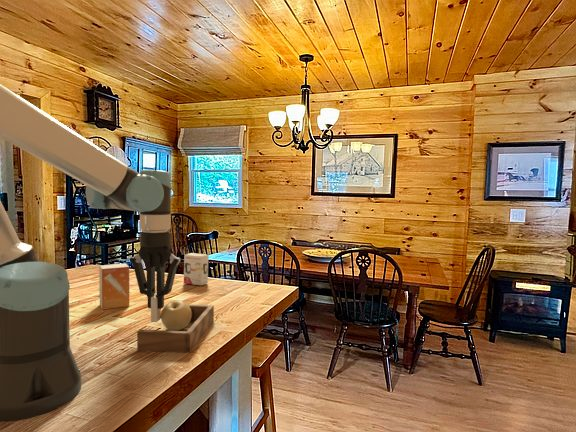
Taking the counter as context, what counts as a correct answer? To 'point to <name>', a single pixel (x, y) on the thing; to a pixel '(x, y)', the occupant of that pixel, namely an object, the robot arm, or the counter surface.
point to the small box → (114, 285)
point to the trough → (178, 333)
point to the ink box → (196, 269)
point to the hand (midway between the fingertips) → (155, 320)
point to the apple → (176, 315)
